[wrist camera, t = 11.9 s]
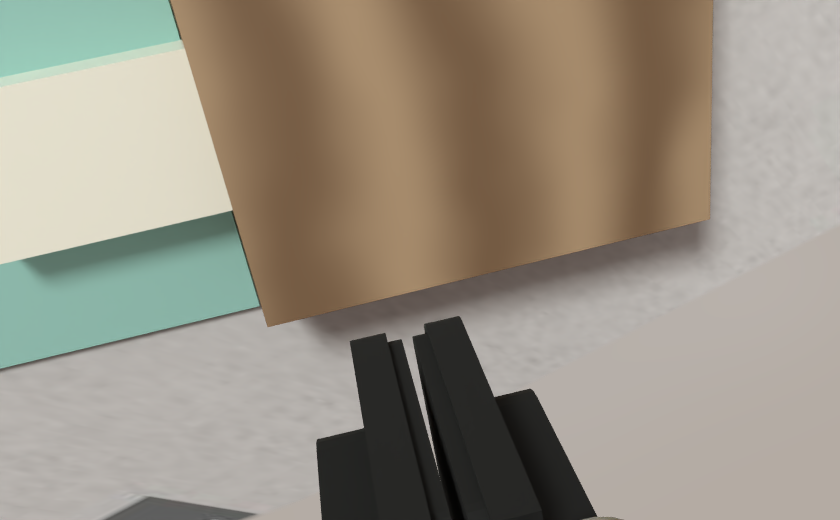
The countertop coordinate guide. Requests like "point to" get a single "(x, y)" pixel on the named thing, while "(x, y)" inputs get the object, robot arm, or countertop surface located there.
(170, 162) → the tile
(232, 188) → the wooden block
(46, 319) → the mat
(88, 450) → the countertop surface
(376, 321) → the countertop surface
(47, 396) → the countertop surface
